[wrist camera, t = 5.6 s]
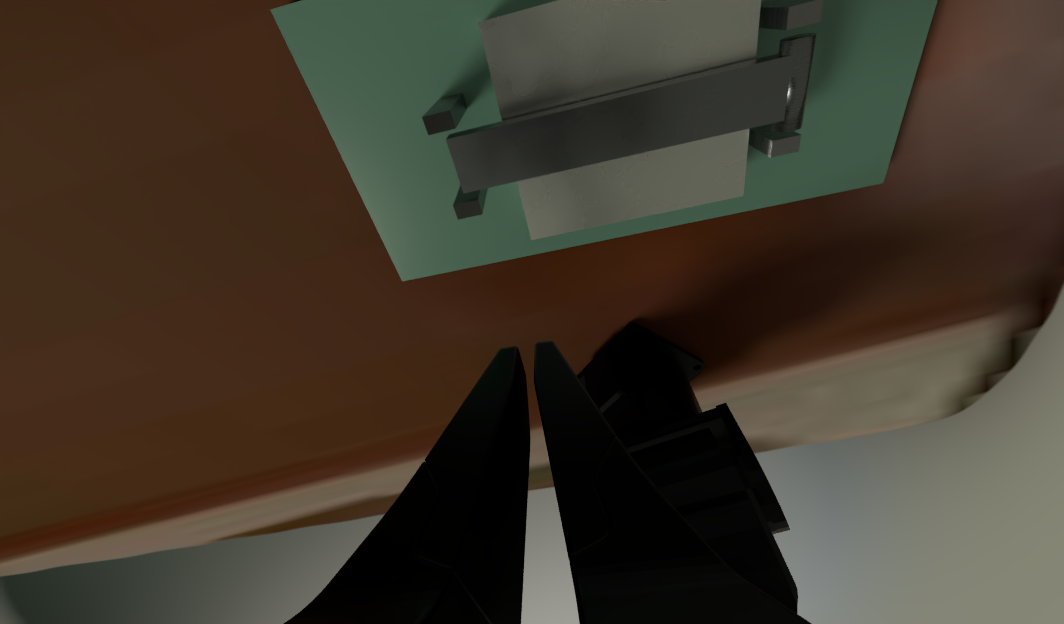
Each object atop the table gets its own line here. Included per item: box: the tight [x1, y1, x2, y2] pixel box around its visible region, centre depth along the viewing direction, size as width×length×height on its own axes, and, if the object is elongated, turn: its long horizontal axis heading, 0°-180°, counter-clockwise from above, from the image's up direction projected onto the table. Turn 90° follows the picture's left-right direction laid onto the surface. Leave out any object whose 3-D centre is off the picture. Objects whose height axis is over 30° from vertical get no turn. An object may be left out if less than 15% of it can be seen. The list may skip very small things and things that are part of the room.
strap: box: [446, 33, 817, 193], centre depth 15 cm, size 12×3×1 cm, turn 103°
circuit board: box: [271, 0, 938, 281], centre depth 17 cm, size 24×12×1 cm, turn 103°
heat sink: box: [422, 0, 824, 240], centre depth 16 cm, size 13×8×4 cm, turn 103°
